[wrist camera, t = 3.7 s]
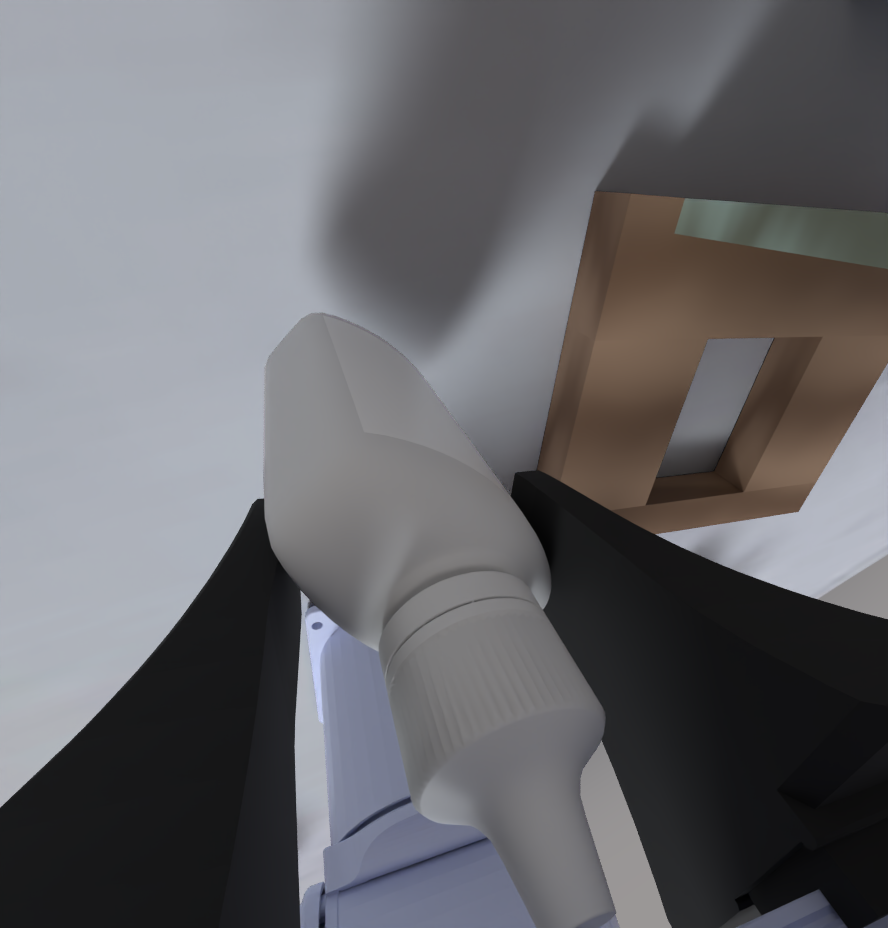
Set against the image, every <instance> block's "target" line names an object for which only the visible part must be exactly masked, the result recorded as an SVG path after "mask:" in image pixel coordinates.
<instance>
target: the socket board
mask: <svg viewBox="0 0 888 928" xmlns="http://www.w3.org/2000/svg"><path fill="white" fill-rule="evenodd" d="M723 338H774V341H773V343H772V345H771V347H770V349H769V352H768V354H767V356H766V358H765V361H764V363H763V365H762V367H761V369H760V372H759V374H758V376H757V378H756V380H755V383H754V385H753V387H752V389H751V391H750V394H749V396H748V398H747V400H746V402H745V405H744V407H743V409H742V411H741V414H740V416H739V418H738V420H737V422H736V425H735V427H734V429H733V431H732V433H731V436H730V438H729V440H728V442H727V444H726V447H725V449H724V451H723V453H722V455H721V458H720V460H719V462H718V464H717V466H716V469H715V471H713V472H704V473H695V474H687V475H678V476H670V477H661V478H656V476H657V473H658V471H659V468H660V465H661V463H662V460H663V457H664V455H665V452H666V449H667V447H668V444H669V441H670V439H671V436H672V433H673V431H674V428H675V426H676V423H677V420H678V418H679V415H680V412H681V410H682V407H683V404H684V402H685V399H686V396H687V394H688V391H689V388H690V386H691V383H692V380H693V378H694V375H695V372H696V370H697V367H698V364H699V362H700V359H701V356H702V354H703V351H704V348H705V346H706V343H707V340H708V339H723ZM887 363H888V213H883V212H869V211H856V210H842V209H828V208H814V207H800V206H787V205H773V204H759V203H745V202H731V201H718V200H704V199H690V198H677V197H665V196H654V195H642V194H629V193H615V192H601V191H595V194H594V199H593V204H592V209H591V213H590V218H589V223H588V228H587V232H586V237H585V242H584V247H583V252H582V256H581V261H580V266H579V271H578V276H577V280H576V285H575V290H574V295H573V299H572V304H571V309H570V314H569V319H568V323H567V328H566V333H565V338H564V342H563V347H562V352H561V357H560V362H559V366H558V371H557V376H556V381H555V385H554V390H553V395H552V400H551V405H550V409H549V414H548V419H547V424H546V429H545V433H544V438H543V443H542V448H541V452H540V457H539V462H538V467H537V470H540V471H542V472H544V473H546V474H548V475H550V476H552V477H553V478H555V479H557V480H559V481H561V482H562V483H564V484H566V485H568V486H569V487H571V488H573V489H575V490H576V491H578V492H580V493H581V494H583V495H585V496H587V497H588V498H590V499H592V500H593V501H595V502H597V503H599V504H600V505H602V506H604V507H605V508H607V509H609V510H611V511H612V512H614V513H616V514H618V515H620V516H621V517H623V518H625V519H627V520H629V521H630V522H632V523H634V524H636V525H638V526H640V527H642V528H643V529H645V530H647V531H649V532H651V533H653V534H659V533H666V532H672V531H679V530H685V529H691V528H698V527H704V526H710V525H717V524H723V523H730V522H736V521H742V520H749V519H755V518H762V517H768V516H774V515H781V514H787V513H793V512H798V511H799V510H800V508H801V506H802V505H803V503H804V501H805V500H806V498H807V496H808V495H809V493H810V491H811V490H812V488H813V486H814V485H815V483H816V482H817V480H818V478H819V477H820V475H821V473H822V472H823V470H824V468H825V467H826V465H827V463H828V462H829V460H830V458H831V457H832V455H833V453H834V452H835V450H836V448H837V447H838V445H839V443H840V442H841V440H842V438H843V437H844V435H845V433H846V432H847V430H848V428H849V427H850V425H851V423H852V422H853V420H854V418H855V417H856V415H857V413H858V412H859V410H860V408H861V407H862V405H863V403H864V402H865V400H866V398H867V397H868V395H869V393H870V392H871V390H872V388H873V387H874V385H875V383H876V382H877V380H878V378H879V377H880V375H881V373H882V372H883V370H884V368H885V367H886V365H887Z"/></svg>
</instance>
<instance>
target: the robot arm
mask: <svg viewBox="0 0 888 928" xmlns="http://www.w3.org/2000/svg"><path fill="white" fill-rule="evenodd" d="M511 498H512V499H513V500H514V502H515V503H516V505H517V506H518V507H519V509H520V510H521V511H522V513H523V514H524V516H525V517H526V519H527V521H528V522H529V524H530V525H531V527H532V528H533V530H534V531H535V533H536V535H537V537H538V539H539V541H540V543H541V545H542V547H543V549H544V552H545V554H546V557H547V560H548V564H549V568H550V573H551V585H552V587H551V593H550V596H549V600H548V602H547V604H546V606H545V607H544V609H543V611H544V613H545V614H546V616H547V618H548V619H549V621H550V623H551V624H552V626H553V627H554V629H555V631H556V632H557V634H558V636H559V637H560V639H561V640H562V642H563V644H564V645H565V647H566V649H567V650H568V652H569V653H570V655H571V657H572V658H573V660H574V662H575V663H576V665H577V666H578V668H579V670H580V671H581V673H582V675H583V676H584V678H585V679H586V681H587V683H588V684H589V686H590V688H591V689H592V691H593V692H594V694H595V696H596V697H597V699H598V701H599V702H600V704H601V705H602V707H603V710H604V712H605V717H606V719H605V728H604V734H603V737H602V742H603V745H604V747H605V749H606V752H607V754H608V756H609V759H610V761H611V763H612V766H613V768H614V771H615V774H616V776H617V779H618V781H619V784H620V787H621V789H622V792H623V794H624V797H625V799H626V802H627V805H628V807H629V810H630V812H631V815H632V818H633V820H634V823H635V826H636V828H637V831H638V834H639V837H640V840H641V842H642V845H643V848H644V851H645V854H646V857H647V860H648V862H649V865H650V868H651V871H652V874H653V877H654V879H655V882H656V885H657V888H658V891H659V894H660V897H661V900H662V903H663V906H664V909H665V913H666V916H667V919H668V921H669V923H670V924H671V926H672V928H888V619H884V618H880V617H876V616H872V615H868V614H864V613H861V612H857V611H854V610H850V609H848V608H844V607H841V606H837V605H834V604H831V603H827V602H824V601H821V600H818V599H814V598H811V597H808V596H805V595H802V594H799V593H796V592H793V591H790V590H787V589H784V588H781V587H778V586H775V585H773V584H770V583H767V582H764V581H762V580H759V579H756V578H753V577H751V576H748V575H745V574H743V573H740V572H737V571H735V570H732V569H730V568H727V567H725V566H722V565H720V564H718V563H715V562H713V561H711V560H709V559H706V558H704V557H702V556H699V555H697V554H695V553H693V552H690V551H688V550H686V549H684V548H681V547H679V546H677V545H675V544H673V543H671V542H669V541H667V540H665V539H663V538H661V537H659V536H657V535H655V534H653V533H651V532H649V531H647V530H645V529H643V528H642V527H640V526H638V525H636V524H634V523H632V522H630V521H629V520H627V519H625V518H623V517H621V516H620V515H618V514H616V513H614V512H612V511H611V510H609V509H607V508H605V507H604V506H602V505H600V504H599V503H597V502H595V501H593V500H592V499H590V498H588V497H587V496H585V495H583V494H581V493H580V492H578V491H576V490H575V489H573V488H571V487H569V486H568V485H566V484H564V483H562V482H561V481H559V480H557V479H555V478H553V477H552V476H550V475H548V474H546V473H544V472H542V471H540V470H536V471H527V472H517V473H515V476H514V482H513V488H512V493H511ZM301 615H302V613H301V592H300V589H299V587H298V586H297V585H296V584H295V582H294V581H293V580H292V578H291V577H290V576H289V575H288V573H287V572H286V571H285V569H284V568H283V566H282V565H281V563H280V562H279V560H278V558H277V557H276V555H275V553H274V551H273V550H272V548H271V544H270V540H269V535H268V531H267V526H266V521H265V509H264V499H257V500H256V501H255V502H254V503H253V504H252V506H251V508H250V510H249V512H248V514H247V516H246V518H245V520H244V522H243V524H242V526H241V528H240V530H239V531H238V533H237V535H236V537H235V538H234V540H233V542H232V544H231V545H230V547H229V549H228V550H227V552H226V553H225V555H224V556H223V558H222V560H221V561H220V563H219V564H218V566H217V568H216V569H215V571H214V572H213V574H212V575H211V577H210V578H209V580H208V581H207V583H206V584H205V586H204V587H203V588H202V590H201V591H200V592H199V594H198V595H197V597H196V598H195V599H194V601H193V602H192V604H191V605H190V606H189V608H188V609H187V610H186V612H185V613H184V615H183V616H182V617H181V619H180V620H179V621H178V622H177V624H176V625H175V626H174V628H173V629H172V630H171V631H170V633H169V634H168V635H167V636H166V638H165V639H164V640H163V641H162V642H161V644H160V645H159V646H158V647H157V648H156V650H155V651H154V652H153V653H152V654H151V655H150V657H149V658H148V659H147V660H146V661H145V662H144V664H143V665H142V666H141V667H140V668H139V669H138V671H137V672H136V673H135V674H134V675H133V676H132V677H131V678H130V679H129V680H128V681H127V683H126V684H125V685H124V686H123V687H122V688H121V689H120V690H119V691H118V692H117V693H116V694H115V696H114V697H113V698H112V699H111V700H110V701H109V702H108V703H107V704H106V705H105V706H104V707H103V709H102V710H101V711H100V712H99V713H98V714H97V715H96V716H95V717H94V718H93V719H92V720H91V721H90V722H89V723H88V724H87V725H86V726H85V727H84V728H83V729H82V730H81V731H80V732H79V733H78V734H77V735H76V736H75V737H74V738H73V739H72V740H71V741H70V742H69V743H68V744H67V745H66V746H65V747H64V748H63V749H62V750H61V751H60V752H59V753H57V754H56V755H55V756H54V757H53V758H52V759H51V760H50V761H49V762H48V763H47V764H46V765H45V766H44V767H43V768H42V769H41V770H40V771H39V772H37V773H36V774H35V775H34V776H33V777H32V778H31V779H30V780H29V781H28V782H27V783H26V784H25V785H24V786H23V787H22V788H21V789H20V790H18V791H17V792H16V793H15V794H14V795H13V796H12V797H11V798H10V799H9V800H8V801H7V802H6V803H5V804H4V805H3V806H2V807H1V808H0V928H536V926H535V924H534V922H533V920H532V918H531V916H530V914H529V912H528V910H527V908H526V906H525V904H524V902H523V901H522V899H521V897H520V895H519V893H518V891H517V889H516V887H515V885H514V883H513V881H512V879H511V877H510V875H509V873H508V871H507V869H506V867H505V865H504V863H503V861H502V860H501V858H500V856H499V854H498V853H497V851H496V849H495V847H494V846H493V844H492V842H491V841H490V840H489V839H488V838H487V837H486V836H485V835H484V834H483V833H482V832H481V831H480V830H478V829H476V828H474V827H472V826H466V825H451V824H441V823H437V822H434V821H431V820H429V819H428V818H426V817H425V816H423V815H422V814H420V813H419V812H418V811H417V810H416V809H415V807H414V806H413V803H412V800H411V796H410V791H409V787H408V783H407V778H406V774H405V769H404V765H403V760H402V756H401V751H400V747H399V743H398V738H397V734H396V729H395V725H394V720H393V716H392V711H391V707H390V703H389V698H388V694H387V689H386V685H385V680H384V676H383V671H382V667H381V662H380V658H379V652H378V651H376V650H374V649H372V648H370V647H369V646H367V645H365V644H364V643H362V642H360V641H359V640H357V639H356V638H354V637H353V636H351V635H350V634H348V633H347V632H346V631H344V630H343V629H342V628H340V627H339V626H338V625H337V624H335V623H334V622H333V621H332V620H330V619H329V618H328V617H327V616H326V615H325V614H324V613H323V612H322V611H321V610H320V609H318V608H317V607H316V606H313V607H310V608H309V609H308V610H307V611H306V612H305V622H306V629H307V636H308V644H309V651H310V658H311V666H312V673H313V681H314V688H315V695H316V703H317V710H318V717H319V721H320V722H321V723H323V727H324V742H325V758H326V774H327V790H328V806H329V822H330V837H331V846H329V847H327V848H325V849H324V851H323V857H324V876H325V883H324V882H321V883H318V884H315V885H312V886H310V887H309V888H308V889H307V891H306V892H305V894H304V897H303V900H302V903H301V904H300V901H299V876H298V847H297V817H296V784H295V749H294V744H295V713H296V697H297V681H298V665H299V649H300V632H301ZM316 622H318V623H316ZM600 928H620V927H619V924H618V921H617V918H616V916H614V917H613V918H612V919H611V920H609V921H608V922H607V923H605V924H604V925H603V926H601V927H600Z"/></svg>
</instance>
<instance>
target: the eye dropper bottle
mask: <svg viewBox="0 0 888 928" xmlns="http://www.w3.org/2000/svg"><path fill="white" fill-rule="evenodd" d="M263 480H264V509H265V521H266V526H267V531H268V535H269V540H270V544H271V548H272V550H273V551H274V553H275V555H276V557H277V558H278V560H279V562H280V563H281V565H282V566H283V568H284V569H285V571H286V572H287V573H288V575H289V576H290V577H291V578H292V580H293V581H294V582H295V584H296V585H297V586H298V587H299V589H300V590H301V591H302V592H303V593H304V594H305V595H306V596H307V597H308V598H309V599H310V601H311V602H312V603H313V604H314V605H315V606H316V607H317V608H318V609H320V610H321V611H322V612H323V613H324V614H325V615H326V616H327V617H328V618H329V619H330V620H332V621H333V622H334V623H335V624H337V625H338V626H339V627H340V628H342V629H343V630H344V631H346V632H347V633H348V634H350V635H351V636H353V637H354V638H356V639H357V640H359V641H360V642H362V643H364V644H365V645H367V646H369V647H370V648H372V649H374V650H376V651H378V652H379V658H380V662H381V667H382V671H383V676H384V680H385V685H386V689H387V694H388V698H389V703H390V707H391V711H392V716H393V720H394V725H395V729H396V734H397V738H398V743H399V747H400V751H401V756H402V760H403V765H404V769H405V774H406V778H407V783H408V787H409V791H410V796H411V800H412V803H413V806H414V807H415V809H416V810H417V811H418V812H419V813H420V814H422V815H423V816H425V817H426V818H428V819H429V820H431V821H434V822H437V823H441V824H451V825H466V826H472V827H474V828H476V829H478V830H480V831H481V832H482V833H483V834H484V835H485V836H486V837H487V838H488V839H489V840H490V841H491V842H492V844H493V846H494V847H495V849H496V851H497V853H498V854H499V856H500V858H501V860H502V861H503V863H504V865H505V867H506V869H507V871H508V873H509V875H510V877H511V879H512V881H513V883H514V885H515V887H516V889H517V891H518V893H519V895H520V897H521V899H522V901H523V902H524V904H525V906H526V908H527V910H528V912H529V914H530V916H531V918H532V920H533V922H534V924H535V926H536V928H600V927H601V926H603V925H604V924H605V923H607V922H608V921H609V920H611V919H612V918H613V917H614V916H615V914H616V910H615V907H614V904H613V901H612V897H611V894H610V891H609V888H608V885H607V882H606V878H605V875H604V872H603V869H602V866H601V863H600V859H599V857H598V853H597V850H596V847H595V844H594V841H593V838H592V834H591V832H590V828H589V825H588V822H587V818H586V815H585V811H584V808H583V804H582V800H581V796H580V778H581V774H582V770H583V768H584V767H585V765H586V764H587V762H588V761H589V759H590V758H591V756H592V755H593V753H594V752H595V751H596V749H597V747H598V746H599V744H600V742H601V740H602V737H603V734H604V728H605V719H606V717H605V712H604V710H603V707H602V705H601V704H600V702H599V701H598V699H597V697H596V696H595V694H594V692H593V691H592V689H591V688H590V686H589V684H588V683H587V681H586V679H585V678H584V676H583V675H582V673H581V671H580V670H579V668H578V666H577V665H576V663H575V662H574V660H573V658H572V657H571V655H570V653H569V652H568V650H567V649H566V647H565V645H564V644H563V642H562V640H561V639H560V637H559V636H558V634H557V632H556V631H555V629H554V627H553V626H552V624H551V623H550V621H549V619H548V618H547V616H546V614H545V613H544V611H543V609H544V607H545V606H546V604H547V602H548V600H549V596H550V593H551V587H552V585H551V573H550V568H549V564H548V560H547V557H546V554H545V552H544V549H543V547H542V545H541V543H540V541H539V539H538V537H537V535H536V533H535V531H534V530H533V528H532V527H531V525H530V524H529V522H528V521H527V519H526V517H525V516H524V514H523V513H522V511H521V510H520V509H519V507H518V506H517V505H516V503H515V502H514V500H513V499H512V498H511V496H510V495H509V493H508V492H507V491H506V489H505V488H504V486H503V485H502V484H501V482H500V481H499V479H498V478H497V477H496V475H495V474H494V473H493V471H492V470H491V468H490V467H489V466H488V464H487V463H486V462H485V460H484V459H483V457H482V456H481V455H480V453H479V452H478V451H477V449H476V448H475V446H474V445H473V444H472V442H471V441H470V439H469V438H468V437H467V435H466V434H465V433H464V431H463V430H462V429H461V427H460V426H459V424H458V423H457V422H456V420H455V419H454V418H453V416H452V415H451V413H450V412H449V411H448V409H447V408H446V407H445V405H444V404H443V402H442V401H441V400H440V398H439V397H438V396H437V394H436V393H435V391H434V390H433V389H432V387H431V386H430V385H429V383H428V382H427V381H426V379H425V378H424V377H423V376H422V374H421V373H420V372H419V371H418V370H417V368H416V367H415V366H414V365H413V364H412V363H411V362H410V361H409V360H408V359H407V358H406V357H405V356H404V355H403V354H401V353H400V352H399V351H398V350H397V349H396V348H394V347H393V346H392V345H390V344H389V343H388V342H386V341H385V340H383V339H382V338H380V337H379V336H377V335H375V334H374V333H372V332H370V331H368V330H366V329H365V328H363V327H361V326H359V325H356V324H354V323H352V322H350V321H347V320H345V319H342V318H339V317H337V316H333V315H330V314H326V313H311V314H309V315H307V316H306V317H304V318H302V319H301V320H300V321H299V322H298V323H297V324H296V325H295V326H294V327H293V328H292V329H291V331H290V332H289V333H288V334H287V335H286V336H285V338H284V339H283V340H282V341H281V342H280V343H279V345H278V346H277V347H276V348H275V349H274V351H273V352H272V353H271V354H270V356H269V358H268V360H267V363H266V365H265V378H264V470H263Z"/></svg>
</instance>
